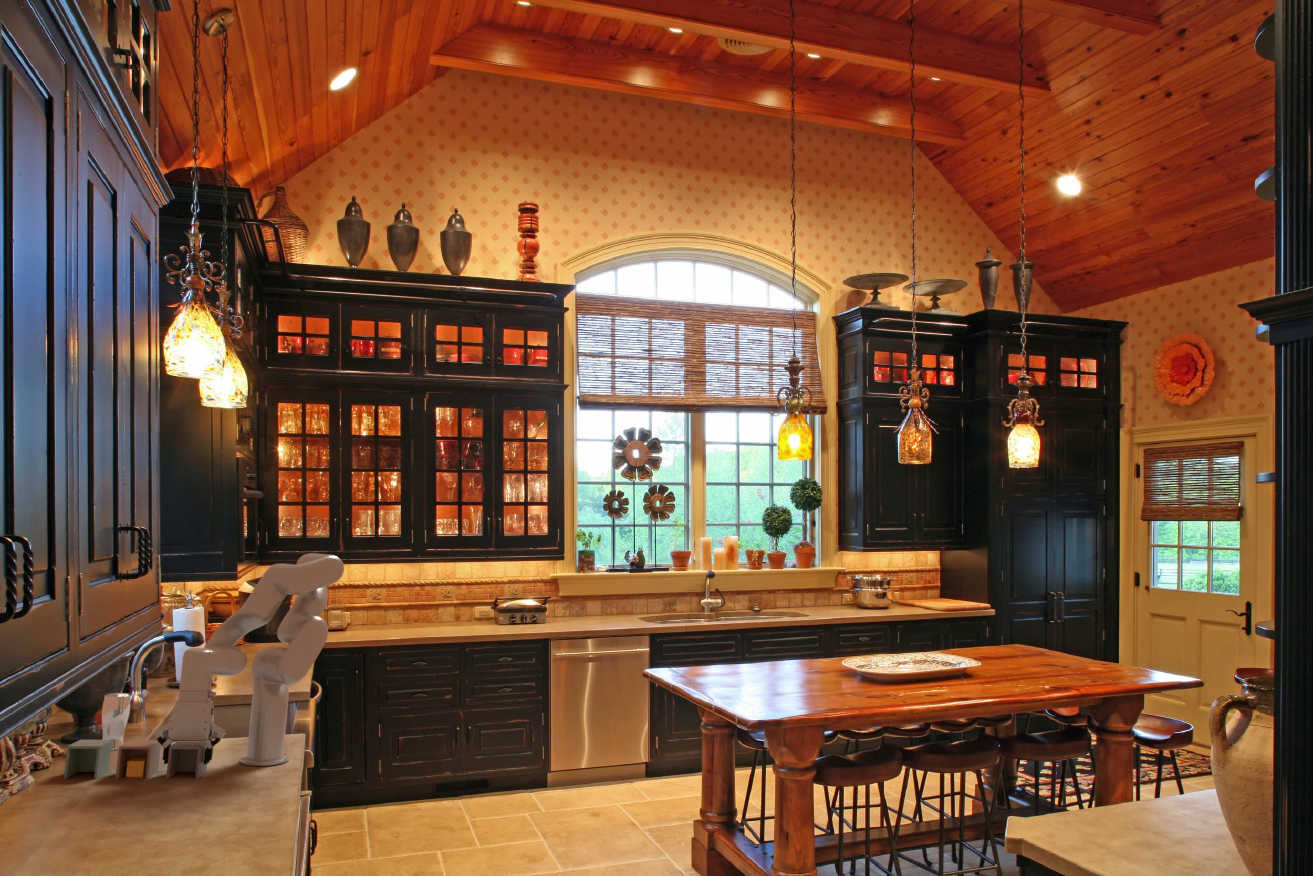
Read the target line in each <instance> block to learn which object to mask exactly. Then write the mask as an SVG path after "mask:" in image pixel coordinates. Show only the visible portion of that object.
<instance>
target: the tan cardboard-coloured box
mask: <svg viewBox="0 0 1313 876" xmlns="http://www.w3.org/2000/svg"><path fill="white" fill-rule="evenodd" d="M161 748H162V745H161V744H160V743H159V742H158V740H157V739H129V740H128V741H126V742H124V744H122V745H121V746H119V749H118V750H117V751H118V752H117V760H116V769H115V770H116V773H115V780H118V779H120V778H121V777H123V776H124V775H126V771H127V761H129V760H130V759H132V758H147V766H146V775H145V776H144V777H145V779H146V780H149V779H150V778H151V777H152V776H153V775H155V774H157V773H158V772H159V766H160V757H161V756H160V755H161ZM157 771H158V772H157Z"/></svg>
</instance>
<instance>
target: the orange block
mask: <svg viewBox="0 0 1313 876" xmlns="http://www.w3.org/2000/svg"><path fill="white" fill-rule="evenodd" d="M146 766H147V758H132V759H130V760H129V761H127V771H126V774H125V777H126V778H143V777H145V775H146Z"/></svg>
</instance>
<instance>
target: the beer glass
mask: <svg viewBox="0 0 1313 876" xmlns="http://www.w3.org/2000/svg"><path fill="white" fill-rule="evenodd" d="M130 713H131V693H126V692H115V693H114V692H113V693H107V694H105V695H104V700H103V703H102V710H101V724H102V738H101V740H112V746H111V751H119V746H121V745H122V744H124V743H125V741H124V737H125V729H126V726H127V724H128V722H129V721H128V720H129V717H130Z"/></svg>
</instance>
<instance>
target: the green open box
mask: <svg viewBox="0 0 1313 876" xmlns="http://www.w3.org/2000/svg"><path fill="white" fill-rule="evenodd" d="M111 746H112V740H102V739H79V740H77V741H75V742H73V743H72V744H71V743H70V744H69V745H68V746H67V748H66V749H67V750H66V756H65V758H66V759H65V764H64V765H65V766H64V773H63V774H64V775H63V780H67V779H68V778H70V777H72V776H73V775H76V774H77V773H78V772H79V773H81V772H83V773H85V772H87V773H94V775H93V777H94V778H93V779H95V780H96V779H99V778H100V777H102V776H103V775H105V774H107V773H108V772H109V771H110V761H111V752H112V750H111Z"/></svg>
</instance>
